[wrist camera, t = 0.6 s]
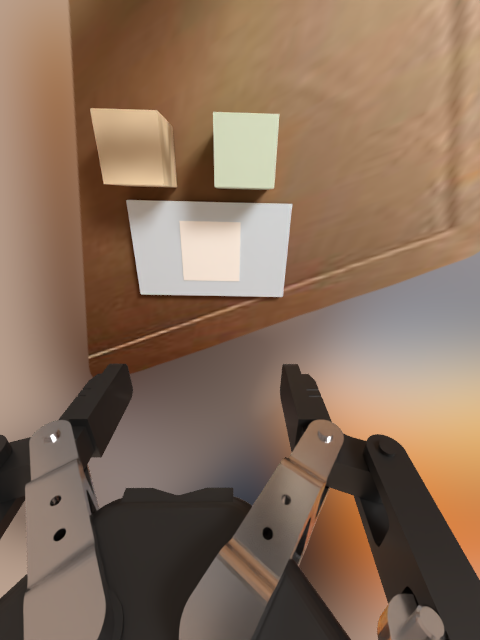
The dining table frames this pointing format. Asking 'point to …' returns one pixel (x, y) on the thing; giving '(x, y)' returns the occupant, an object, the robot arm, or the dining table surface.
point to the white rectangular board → (210, 247)
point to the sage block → (245, 150)
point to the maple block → (134, 147)
